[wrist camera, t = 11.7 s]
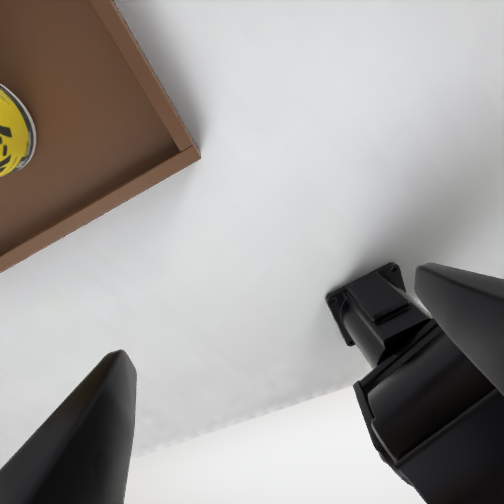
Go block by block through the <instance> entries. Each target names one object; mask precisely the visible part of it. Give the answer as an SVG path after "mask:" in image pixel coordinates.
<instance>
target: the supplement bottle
mask: <svg viewBox="0 0 504 504" xmlns="http://www.w3.org/2000/svg"><path fill="white" fill-rule="evenodd" d="M35 147H36V130H35V126H34V123H33V120H32V118H31V116H30V114H29V112H28V111H27V109H26V107H25V106H24V105H23V103H22V102H21V101H20V100H19V99H18V98H17V97H16V96H15V95H14V94H13V93H12V92H11V91H10V90H9V89H7V88H6V87H5V86H3V85H2V84H0V177H1V176H4V175H7V174H10V173H13V172H15V171H17V170H19V169H21V168H23V167H24V166H25V165H26V164H27V163H28V162H29V161H30V160H31V158H32V156H33V154H34V151H35Z"/></svg>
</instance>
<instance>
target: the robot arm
mask: <svg viewBox="0 0 504 504" xmlns="http://www.w3.org/2000/svg"><path fill="white" fill-rule="evenodd" d="M392 268H393V269H392ZM391 269H392V270H391ZM414 290H415V293H416V295H417V297H418V298H419V299H420V301H421V302H422V303H423V304H424V306H425V307H426V308H427V310H428V311H429V312H430V314H431V315H430V314H429V313H428V312H427V311H426V310H425V309H424V308H422V307H421V306H420V305H419V304H418V303H417V302H416V301H414V300H413V299H412V298H411V297H410V296H409V295H408V294H407V293H406V289H405V286H404V282H403V279H402V275H401V272H400V268H399V266H398V265H397V264H396V263H394V262H390V263H388V264H386V265H384V266H382V267H380V268H378V269H376V270H375V271H373V272H371V273H369V274H367V275H365V276H363V277H361V278H359V279H357V280H355V281H353V282H351V283H349V284H348V285H346V286H344V287H342V288H340V289H338V290H336V291H334V292H332V293H330V294H328V295H327V296H326V298H325V300H326V303H327V305H328V307H329V309H330V311H331V313H332V315H333V317H334V320H335V322H336V324H337V326H338V328H339V330H340V332H341V334H342V336H343V338H344V340H345V342H346V344H347V345H348V346H353V345H355V344H356V345H357V346H358V348H359V349H360V351H361V352H362V354H363V355H364V357H365V358H366V360H367V361H368V362H369V364H370V365H371V367H372V368H373V370H372V371H371V372H370V373H369V374H367V375H366V376H365V377H364V378H363V379H362V380H361V381H359V380H358V381H357V382H356V383H355V384H354V385H353V387H354V390H355V393H356V396H357V400H358V403H359V406H360V408H361V411H362V414H363V416H364V420H365V423H366V425H367V428H368V431H369V434H370V437H371V440H372V442H373V445H374V447H375V448H376V450H377V451H378V452H379V455H380V457H381V459H382V460H383V461H384V462H385V463H387V464H388V465H389V466H390V467H391V468H392V469H393V471H394V472H395V473H396V474H397V475H398V476H399V477H401V479H402V480H404V481H405V482H406V483H407V484H409V485H411V486H413V487H414V488H415V489H416V491H417V492H418V493H419V494H420V496H421V497H422V498H423V499H424V501H425V502H426V503H427V504H504V279H500V278H495V277H491V276H487V275H483V274H478V273H474V272H470V271H465V270H461V269H457V268H452V267H448V266H444V265H439V264H435V263H426V264H423V265H419V266H417V268H416V270H415V281H414ZM333 298H334V299H333ZM331 299H333V300H331ZM330 300H331V301H330ZM136 382H137V373H136V369H135V367H134V365H133V364H132V362H131V360H130V358H129V357H128V355H127V353H126V352H125V351H124V350H117V351H114V352H110V353H108V354H107V355H106V356H105V357H104V358H103V359H102V360H101V361H100V362H99V363H98V364H97V366H96V367H95V368H94V369H93V370H92V371H91V372H90V373H89V374H88V375H87V376H86V377H85V379H84V380H83V381H82V382H81V383H80V384H79V385H78V386H77V387H76V388H75V389H74V390H73V392H72V393H71V394H70V395H69V396H68V397H67V398H66V399H65V400H64V401H63V402H62V403H61V405H60V406H59V407H58V408H57V409H56V410H55V411H54V412H53V413H52V414H51V415H50V416H49V418H48V419H47V420H46V421H45V422H44V423H43V424H42V425H41V426H40V427H39V428H38V429H37V431H36V432H35V433H34V434H33V435H32V436H31V437H30V438H29V439H28V440H27V441H26V442H25V444H24V445H23V446H22V447H21V448H20V449H19V450H18V451H17V452H16V453H15V454H14V455H13V457H12V458H11V459H10V460H9V461H8V462H7V463H6V464H5V465H4V466H3V467H2V468H1V469H0V504H123V503H124V497H125V490H126V483H127V477H128V469H129V463H130V456H131V450H132V443H133V436H134V427H135V406H136Z"/></svg>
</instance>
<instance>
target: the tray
mask: <svg viewBox="0 0 504 504" xmlns="http://www.w3.org/2000/svg"><path fill="white" fill-rule="evenodd" d="M0 84H2V85H3V86H5V87H6V88H7V89H9V90H10V91H11V92H12V93H13V94H14V95H15V96H16V97H17V98H18V99H19V100H20V101H21V102H22V103H23V105H24V106H25V107H26V109H27V111H28V112H29V114H30V116H31V118H32V120H33V123H34V126H35V130H36V147H35V151H34V154H33V156H32V158H31V160H30V161H29V162H28V163H27V164H26V165H25V166H24V167H23V168H21V169H19V170H17V171H15V172H13V173H10V174H7V175H4V176H1V177H0V273H1V272H3V271H5V270H6V269H8V268H10V267H12V266H13V265H15V264H17V263H19V262H20V261H22V260H24V259H26V258H28V257H29V256H31V255H33V254H35V253H36V252H38V251H40V250H42V249H43V248H45V247H47V246H49V245H50V244H52V243H54V242H56V241H57V240H59V239H61V238H63V237H64V236H66V235H68V234H70V233H71V232H73V231H75V230H77V229H78V228H80V227H82V226H84V225H85V224H87V223H89V222H91V221H92V220H94V219H96V218H98V217H99V216H101V215H103V214H105V213H106V212H108V211H110V210H112V209H113V208H115V207H117V206H119V205H120V204H122V203H124V202H126V201H127V200H129V199H131V198H133V197H134V196H136V195H138V194H140V193H141V192H143V191H145V190H147V189H148V188H150V187H152V186H154V185H155V184H157V183H159V182H161V181H162V180H164V179H166V178H168V177H169V176H171V175H173V174H175V173H177V172H178V171H180V170H182V169H184V168H185V167H187V166H189V165H191V164H192V163H194V162H196V161H198V160H199V159H201V155H200V151H199V149H198V147H197V146H196V144H195V142H194V141H193V139H192V137H191V135H190V134H189V132H188V130H187V128H186V127H185V125H184V123H183V121H182V120H181V118H180V116H179V114H178V113H177V111H176V109H175V107H174V106H173V104H172V102H171V100H170V99H169V97H168V95H167V93H166V92H165V90H164V88H163V86H162V85H161V83H160V81H159V79H158V78H157V76H156V74H155V72H154V71H153V69H152V67H151V65H150V64H149V62H148V60H147V58H146V57H145V55H144V53H143V51H142V50H141V48H140V46H139V44H138V43H137V41H136V39H135V37H134V36H133V34H132V32H131V30H130V29H129V27H128V25H127V23H126V22H125V20H124V18H123V16H122V15H121V13H120V11H119V9H118V8H117V6H116V4H115V2H114V1H113V0H0Z"/></svg>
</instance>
